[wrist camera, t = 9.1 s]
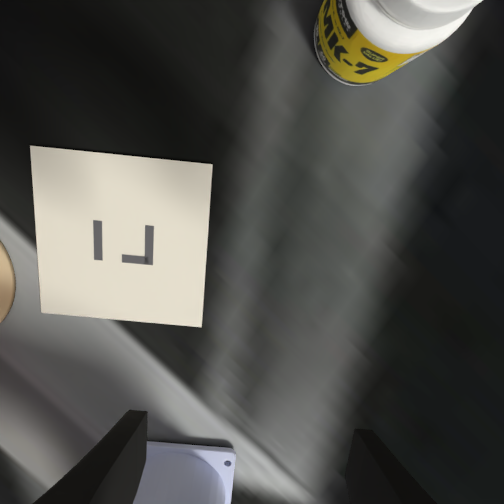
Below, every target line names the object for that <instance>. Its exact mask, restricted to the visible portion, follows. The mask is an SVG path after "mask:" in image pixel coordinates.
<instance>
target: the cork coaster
mask: <svg viewBox="0 0 504 504" xmlns="http://www.w3.org/2000/svg"><path fill="white" fill-rule="evenodd" d="M15 290H16V280H15V273H14V269H13V265H12V262H11V259H10V257H9V255H8V253H7V251H6V249H5V247H4V246H3V244H2V242H1V241H0V323H1V322H2V321H3V320H4V319H5V317H6V316H7V314H8V313H9V311H10V309H11V307H12V304H13V301H14V297H15Z"/></svg>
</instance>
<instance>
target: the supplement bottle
mask: <svg viewBox="0 0 504 504" xmlns="http://www.w3.org/2000/svg"><path fill="white" fill-rule="evenodd" d="M481 1H482V0H324V1H323V3H322V5H321V8H320V10H319V13H318V16H317V20H316V24H315V30H314V45H315V50H316V54H317V57H318V59H319V61H320V63H321V65H322V66H323V68H324V69H325V70H326V72H327V73H328V74H329V75H331V76H332V77H333V78H334V79H336V80H338V81H339V82H341V83H344V84H347V85H352V86H363V85H368V84H371V83H374V82H376V81H379V80H380V79H382V78H384V77H386V76H387V75H389V74H390V73H392V72H394V71H395V70H397V69H399V68H400V67H402V66H404V65H405V64H407V63H408V62H410V61H412V60H413V59H415V58H417V57H418V56H420V55H421V54H423V53H425V52H426V51H428V50H430V49H431V48H433V47H435V46H436V45H438V44H439V43H441V42H442V41H444V40H445V39H446V38H448V37H449V36H450V35H451V34H452V33H453V32H454V31H455V30H456V29H457V28H458V27H459V26H460V25H461V24H462V23H463V22H464V20H465V19H466V18H467V16H468V15H469V14H470V12H471V10H472V9H473V7H474V6H476V5H477V4H478V3H480V2H481Z"/></svg>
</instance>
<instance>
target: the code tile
mask: <svg viewBox="0 0 504 504" xmlns="http://www.w3.org/2000/svg"><path fill="white" fill-rule="evenodd" d="M30 151H31V166H32V181H33V196H34V210H35V225H36V240H37V255H38V270H39V284H40V299H41V313H50V314H61V315H72V316H83V317H94V318H105V319H116V320H127V321H139V322H150V323H161V324H172V325H183V326H194V327H202V316H203V301H204V286H205V271H206V256H207V242H208V227H209V212H210V197H211V182H212V167H213V164H204V163H195V162H185V161H175V160H165V159H156V158H146V157H136V156H127V155H117V154H107V153H97V152H88V151H78V150H68V149H59V148H49V147H39V146H30Z"/></svg>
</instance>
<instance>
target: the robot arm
mask: <svg viewBox="0 0 504 504" xmlns="http://www.w3.org/2000/svg"><path fill="white" fill-rule="evenodd" d="M235 458H236V453H235V451H234V450H233V449H232V448H225V447H212V446H200V445H188V444H175V443H163V442H150V441H147V411H136V410H129V411H128V412H126V414H125V415H124V416H123V417H122V418H121V419H120V420H119V421H118V422H117V424H116V425H115V426H114V427H113V428H112V429H111V430H110V431H109V432H108V433H107V434H106V435H105V436H104V438H103V439H102V440H101V441H100V442H99V443H98V444H97V445H96V446H95V447H94V448H93V449H92V450H91V451H90V452H89V453H88V454H87V455H86V456H85V457H84V458H83V459H82V460H81V461H80V462H79V463H78V464H77V465H76V466H74V467H73V468H72V469H71V470H70V471H69V472H68V473H67V474H66V475H65V476H64V477H63V478H62V479H60V480H59V481H58V482H57V483H56V484H55V485H54V486H53V487H52V488H50V489H49V490H48V491H47V492H46V493H45V494H43V495H42V496H41V497H40V498H39V499H38V500H36V501H35V502H34V503H33V504H231V495H232V486H233V476H234V467H235ZM227 461H230V462H227ZM345 479H346V484H347V489H348V495H349V499H350V504H437V503H436V502H435V501H434V500H433V499H432V498H431V497H430V496H429V495H428V494H427V492H426V491H425V490H424V489H423V488H422V487H421V486H420V485H419V484H418V483H417V482H416V480H415V479H414V478H413V477H412V476H411V475H410V474H409V473H408V471H407V470H406V469H405V468H404V467H403V466H402V464H401V463H400V462H399V461H398V460H397V459H396V457H395V456H394V455H393V454H392V453H391V452H390V450H389V449H388V448H387V447H386V446H385V444H384V443H383V442H382V441H381V440H380V439H379V437H378V436H377V435H376V434H375V433H374V432H373V430H365V429H355V431H354V435H353V440H352V444H351V449H350V454H349V458H348V463H347V468H346V472H345Z"/></svg>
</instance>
